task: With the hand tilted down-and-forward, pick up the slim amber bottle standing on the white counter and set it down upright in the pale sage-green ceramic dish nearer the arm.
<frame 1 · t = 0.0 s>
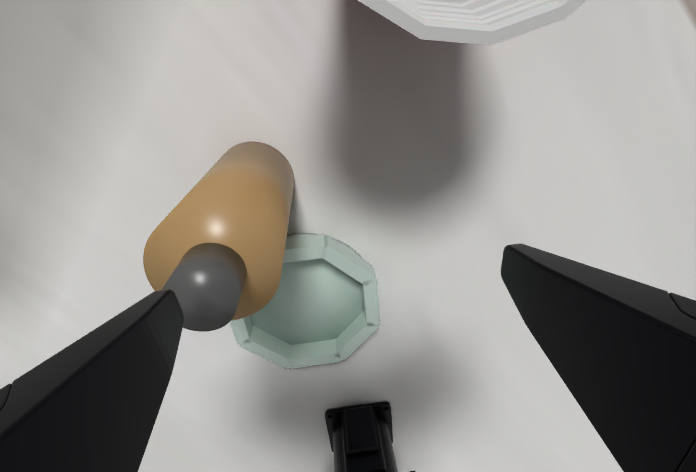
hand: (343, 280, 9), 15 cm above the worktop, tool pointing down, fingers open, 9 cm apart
bottle: (256, 179, 23), on the worktop
dish: (305, 294, 27), on the worktop
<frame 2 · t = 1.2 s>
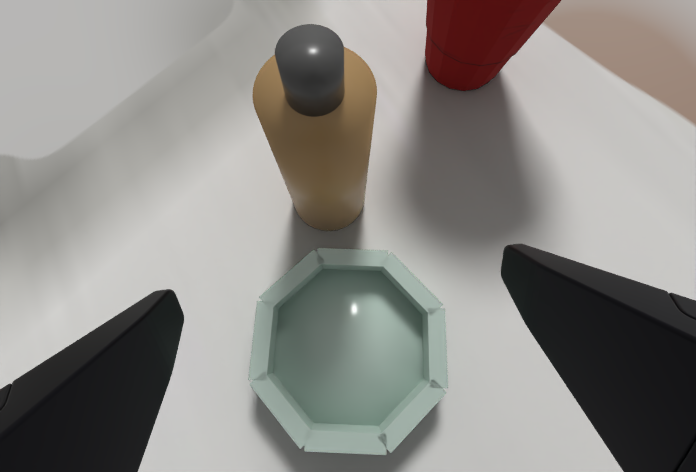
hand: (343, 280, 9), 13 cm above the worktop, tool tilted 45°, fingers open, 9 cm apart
bottle: (329, 197, 24), on the worktop
dish: (349, 342, 22), on the worktop
plastic cup: (458, 65, 28), on the worktop
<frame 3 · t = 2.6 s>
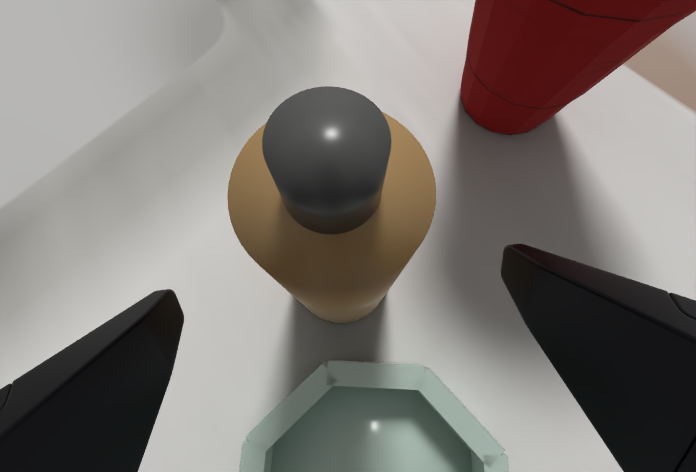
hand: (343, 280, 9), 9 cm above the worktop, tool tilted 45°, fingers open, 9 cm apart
bottle: (341, 276, 19), on the worktop
plastic cup: (500, 101, 22), on the worktop
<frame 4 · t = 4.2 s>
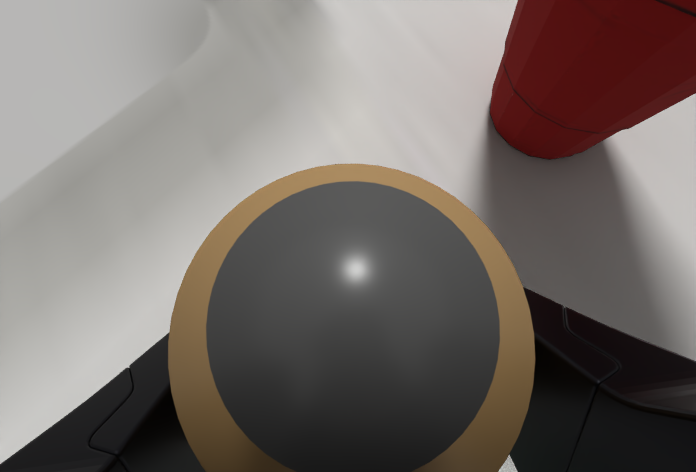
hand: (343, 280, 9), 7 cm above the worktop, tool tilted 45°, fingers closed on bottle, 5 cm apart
bottle: (349, 337, 15), on the worktop, touching gripper
plastic cup: (537, 118, 19), on the worktop
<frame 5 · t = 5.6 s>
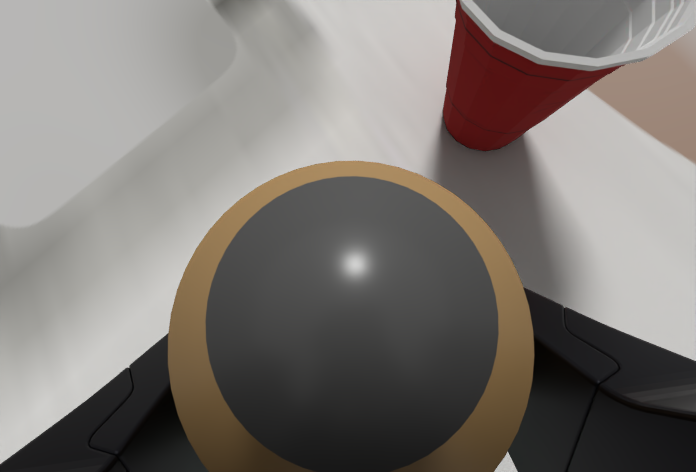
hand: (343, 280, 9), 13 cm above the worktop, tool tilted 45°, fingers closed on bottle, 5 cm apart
bottle: (349, 336, 15), point 6 cm above the worktop, touching gripper
plastic cup: (477, 121, 26), on the worktop
when the fingers open (8 cm above the worktop, at t = 7.4 s): bottle stays where it is, resting on dish.
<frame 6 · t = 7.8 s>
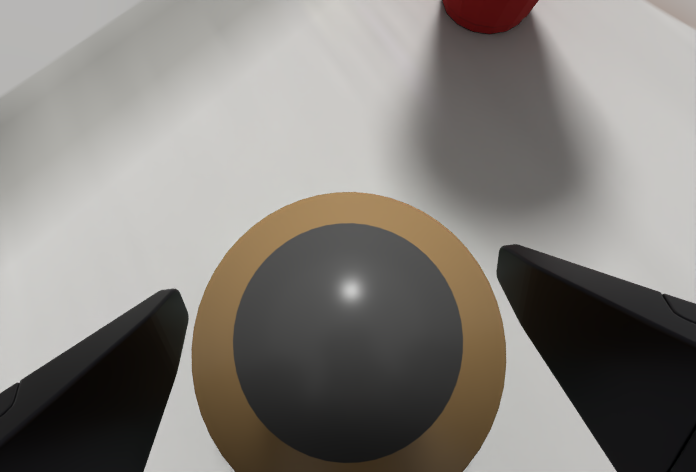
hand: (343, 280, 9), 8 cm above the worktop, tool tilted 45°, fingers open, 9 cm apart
bottle: (349, 340, 16), point 1 cm above the worktop, touching dish
plastic cup: (481, 6, 23), on the worktop
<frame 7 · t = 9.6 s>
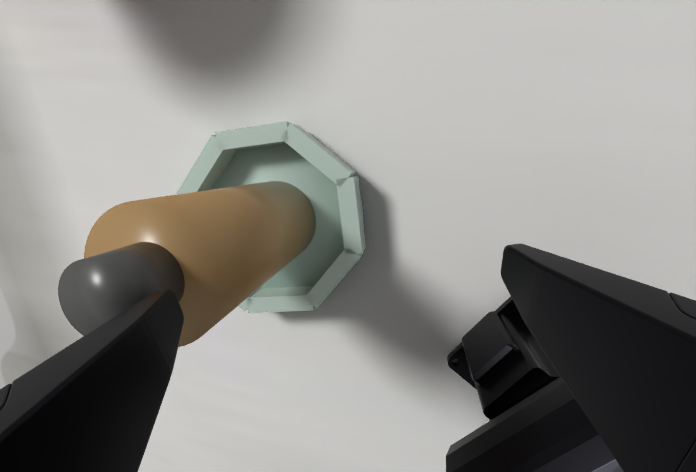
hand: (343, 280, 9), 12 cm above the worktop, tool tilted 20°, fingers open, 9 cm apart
bottle: (277, 220, 22), point 1 cm above the worktop, touching dish
dish: (279, 218, 22), on the worktop
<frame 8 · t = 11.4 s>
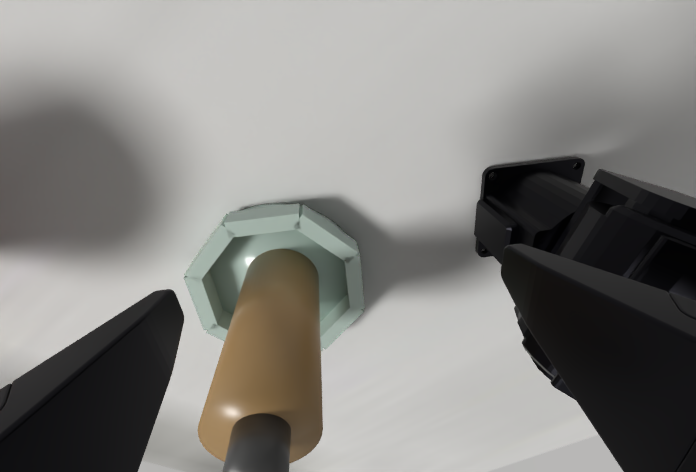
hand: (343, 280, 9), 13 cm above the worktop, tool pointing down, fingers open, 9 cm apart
bottle: (282, 280, 24), point 1 cm above the worktop, touching dish
dish: (281, 275, 24), on the worktop
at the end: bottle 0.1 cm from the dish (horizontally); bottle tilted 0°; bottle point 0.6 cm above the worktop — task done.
